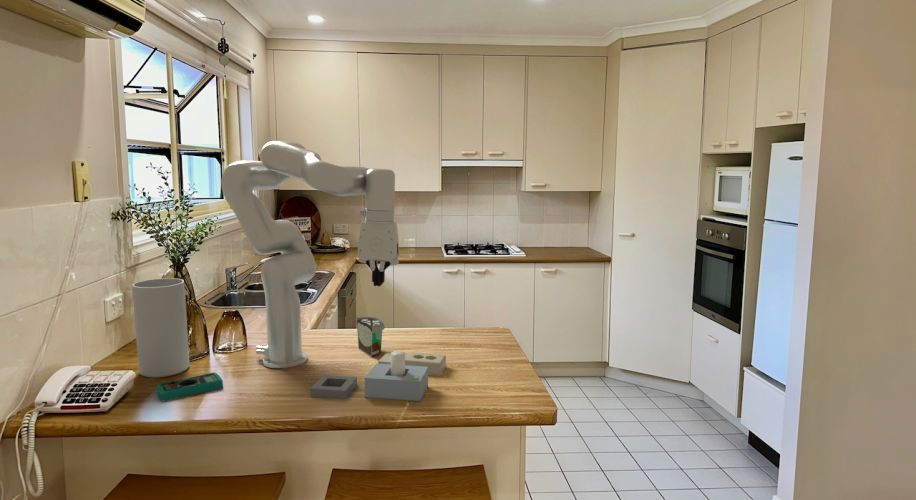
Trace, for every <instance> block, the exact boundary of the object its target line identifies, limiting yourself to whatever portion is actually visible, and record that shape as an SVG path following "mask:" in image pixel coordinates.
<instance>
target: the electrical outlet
mask: <svg viewBox="0 0 916 500" xmlns="http://www.w3.org/2000/svg"><path fill="white" fill-rule="evenodd" d="M377 364H389V365H391V352H385V353H384V355H383V356H382V357H380V359H379V360H378V363H377ZM405 365H406V366H423V367H428V376H438V377H439V376H440V377H441V376H442V375H443V372H445V369H446V367H447V355H446V354H441V353H440V354H437V353H423V352H409V353H408V354H406V353H405Z"/></svg>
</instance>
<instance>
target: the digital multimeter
mask: <svg viewBox="0 0 916 500" xmlns="http://www.w3.org/2000/svg"><path fill="white" fill-rule="evenodd" d="M223 388H224V382H223V379H222V377H221V376H220V375H219V374H218V373H216V372H209V373H206V374H200V375H196V376H192V377H187V378H181V379H176V380H171V381H166V382H160V383H159V384H158V385H156V389H155V390H156V396H157V399H159V400H160V401H162V402H166V401H170V400H171V401H172V400H175V399H179V398H184V397H188V396H192V395H197V394H201V393H206V392H213V391H216V390H221V389H223Z"/></svg>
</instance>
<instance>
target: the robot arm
mask: <svg viewBox="0 0 916 500" xmlns="http://www.w3.org/2000/svg"><path fill="white" fill-rule="evenodd" d="M259 158H260V160H239V161H234V162H233V163H230V164H228V165H227V166H226V167H225V169H224V170H223V173H222V176H221V180H220V181H221V190H222V194H223V197H224V198H225V201H226V202H227V203H228V206H229V207H230V209H231V210H232V211H233V213H234V214H235V217H236V218H237V220H238V222H239V224H240V226H241V229H242V230H243V232H244V234H245V236H246V238H247V240H248V242H249V244H250V246H251V248H252V249H253V251H254V252H255V253H257V254H258V255H262V256H263V255H265V256H266V255H272V254H277V253H280V254H278V255H275V256H272V257H269V258H268V259H267V260H266V261H264V263H263V264H262V265H261V268H260V279H261V282H262V283H261V284H262V287H263V291H264V298H265V315H266V319H265V320H266V335H267V336H266V337H267V338H266V339H267V345H266V346H264V345H256V346H255V354H256V355H263V356H264V357H263V358H262V365H264V366H265V367H267V368H271V369H286V368H293V367H296V366H300V365H302V364H304V363H305V362H307V361H308V359H309V358H308V354H307V353H306V352H304V351H303V347H302V346H303V345H302V343H303V342H302V341H303V340H302V317H301V314H302V313H301V311H302V310H301V300H300V296H299V293H298V291H297V289H296V285H299V284H303V283H305V282H308V281H311V280H312V278H314V277H315V274H316V272H317V263H316V260H315V258H314V255H313V253H312V251H311V249H310V246H309V245H308V243H307V241H306V239H305V238H304V235H303V234H302V232H301V230H300V228H299V227H298V226H297V225H296V224H295V223H294V222H292V221H291V220H288V219H274V218H273V217H272V215H271V214H270V212H269V210H268V208H267V206H266V205H265V203H264V202H263V201H262V200H261V199H260V198H259V197H258V196H256V195H255V194H254V192H253V191H268V190H269V191H270V190H274V189H277V188H279V187H281V186H282V185H284V184H285V183H287V182H288V181H290V180H291V179H296V180H299V181H302V182H304V183H306V184H307V185H308V186H310V187H311V188H313V189H315V190H317V191H320V192H323V193H327V194H330V195H333V196H338V197H350V196H351V197H352V196H365V197H364V198H365V199H364V201H365V203H364V205H365V206H364V207H365V208H364V210H361V211H360V212H359V216H360V217H363V218H364V220H362V221H361V223H360V228H359V235H358V242H357V243H358V245H357V256H358V262H359V263H362V264H365V265H367V266H368V268H369V269H370V271H371V283H372V282H373V287H381V286H382V285H383V284H384V283H385V280H386V279H385V273H386V270H387V269H388V268H389V267H390V266H391V267H392V266H397V265H398V264H399V263H400V262H399V261H400V260H399V254H400V253H399V251H400V244H399V230H398V225H397V222H396V221H395V199H396V198H395V193H396V174H395V171H393V170H392V169H389V168H388V169H386V168H369V167H364V166H340V165H337V164H336V165H335V164H332V163H330V162H325V161H324V160H322V158H321V156H320V154H319V153H318V152H317V151H313V150H309V149H307V148H306V147H305V146H303V145H302V144H301V143H298V142H295V141H294V142H293V141H283V140H273V141H268V142H267V143H266V144H264V145H263V146H262V148H261V150H260V154H259ZM378 261H379V262H380V263H379V266H378Z"/></svg>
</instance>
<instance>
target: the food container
mask: <svg viewBox="0 0 916 500" xmlns="http://www.w3.org/2000/svg"><path fill="white" fill-rule="evenodd" d="M355 323H356V329H357V342H358V345H357V346H358V348H357V349H358V350H360V351H361V352H363V353H364V354H365V355H367V356H368V357H370V358H375V357H378V356H379V355H380V354H382V344H383V343H382V341H383V330H384V329H385V324H384V321H383V319H381V318H379V317H374V316H373V317H372V316H359V317H357V316H356V322H355Z"/></svg>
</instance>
